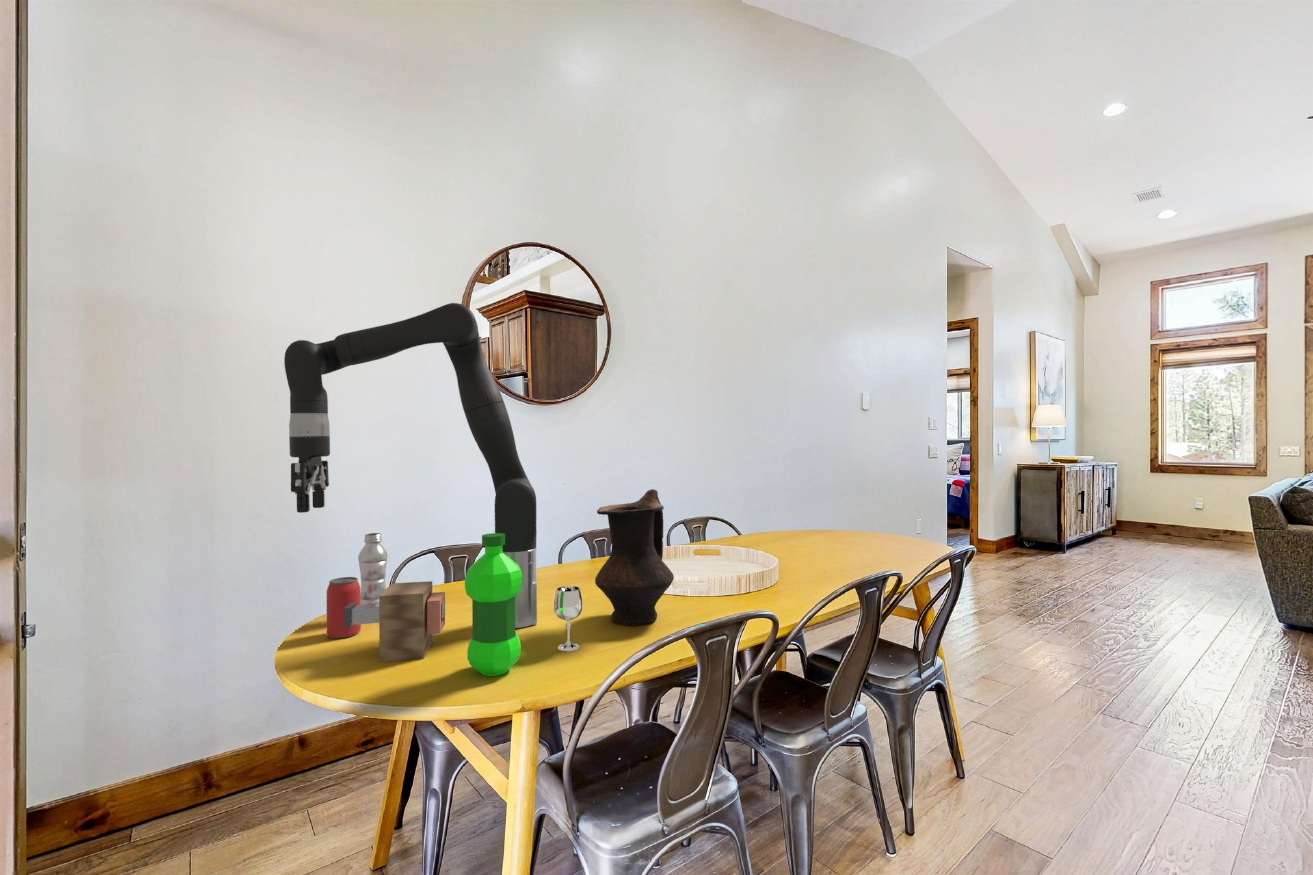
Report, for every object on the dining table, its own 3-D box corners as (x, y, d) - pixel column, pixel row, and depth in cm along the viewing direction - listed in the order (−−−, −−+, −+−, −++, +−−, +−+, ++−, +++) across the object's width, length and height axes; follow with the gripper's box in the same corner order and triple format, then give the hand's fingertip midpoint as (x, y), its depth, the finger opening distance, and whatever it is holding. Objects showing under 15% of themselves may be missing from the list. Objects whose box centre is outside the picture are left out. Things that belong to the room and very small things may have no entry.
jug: (648, 638, 125) (647, 497, 125) (578, 624, 134) (578, 494, 134) (692, 612, 143) (691, 489, 143) (628, 602, 153) (627, 487, 153)
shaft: (445, 615, 122) (444, 597, 122) (442, 621, 118) (442, 602, 118) (350, 621, 118) (349, 602, 118) (343, 627, 114) (343, 608, 114)
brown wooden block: (432, 641, 124) (432, 581, 124) (423, 658, 114) (423, 593, 114) (392, 643, 122) (391, 583, 122) (379, 661, 113) (379, 595, 113)
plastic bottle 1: (369, 622, 137) (368, 537, 137) (352, 618, 140) (352, 534, 140) (394, 615, 142) (393, 533, 142) (377, 611, 146) (377, 531, 146)
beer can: (346, 640, 125) (345, 584, 125) (319, 638, 126) (319, 582, 126) (367, 630, 131) (367, 576, 131) (341, 628, 133) (341, 575, 133)
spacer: (445, 623, 123) (444, 591, 123) (440, 633, 116) (439, 600, 116) (433, 624, 122) (432, 592, 122) (427, 634, 116) (427, 601, 116)
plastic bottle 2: (500, 655, 115) (499, 528, 115) (534, 668, 109) (533, 534, 109) (454, 671, 108) (453, 535, 108) (487, 686, 101) (486, 541, 101)
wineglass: (559, 654, 116) (558, 593, 116) (550, 645, 121) (550, 587, 121) (586, 649, 119) (586, 590, 119) (577, 640, 124) (576, 583, 124)
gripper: (316, 434, 120) (317, 513, 120) (339, 434, 134) (341, 505, 134) (275, 434, 119) (277, 514, 119) (303, 435, 133) (305, 506, 133)
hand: (311, 509), depth 126 cm, fingers open, 8 cm apart
